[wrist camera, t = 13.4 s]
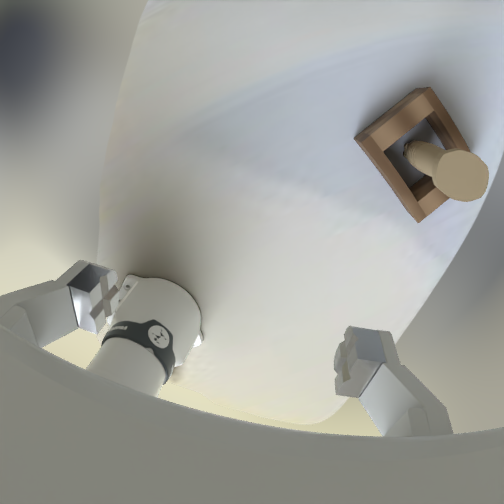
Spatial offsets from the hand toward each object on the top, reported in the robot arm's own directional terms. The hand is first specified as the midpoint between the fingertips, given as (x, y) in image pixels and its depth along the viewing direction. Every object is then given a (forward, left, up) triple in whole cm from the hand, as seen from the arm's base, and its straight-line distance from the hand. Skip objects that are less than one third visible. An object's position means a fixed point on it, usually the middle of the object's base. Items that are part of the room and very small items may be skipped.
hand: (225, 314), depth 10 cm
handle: (+15, -11, -33) cm, 38 cm away
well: (+15, -11, -33) cm, 38 cm away
